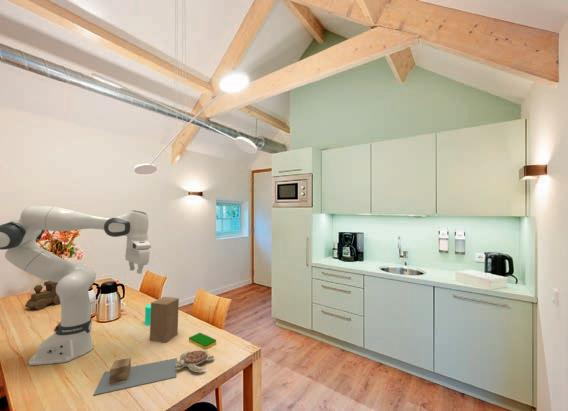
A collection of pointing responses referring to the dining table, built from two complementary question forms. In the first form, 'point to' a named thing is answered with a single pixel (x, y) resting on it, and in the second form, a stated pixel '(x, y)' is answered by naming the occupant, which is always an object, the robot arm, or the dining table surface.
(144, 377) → the mat
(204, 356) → the decorative turtle
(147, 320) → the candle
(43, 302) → the wooden toy train
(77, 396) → the dining table surface
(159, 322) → the wooden block
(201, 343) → the dish sponge
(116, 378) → the letter cube
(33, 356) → the robot arm
